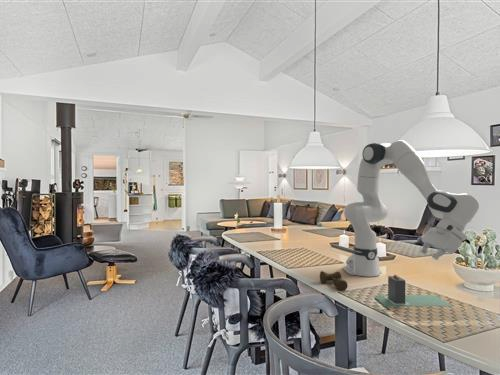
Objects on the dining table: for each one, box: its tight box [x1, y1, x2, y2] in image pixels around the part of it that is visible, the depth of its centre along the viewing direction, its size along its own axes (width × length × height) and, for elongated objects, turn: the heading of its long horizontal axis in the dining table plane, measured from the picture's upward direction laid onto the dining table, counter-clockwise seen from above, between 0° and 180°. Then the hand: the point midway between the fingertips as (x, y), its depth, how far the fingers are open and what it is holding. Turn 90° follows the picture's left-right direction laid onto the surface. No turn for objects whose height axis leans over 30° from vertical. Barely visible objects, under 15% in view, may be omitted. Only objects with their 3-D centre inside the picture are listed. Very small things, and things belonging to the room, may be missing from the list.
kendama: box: [319, 270, 348, 292], centre depth 165 cm, size 6×10×20 cm
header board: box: [373, 294, 454, 311], centre depth 139 cm, size 13×26×2 cm, turn 91°
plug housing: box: [387, 274, 406, 303], centre depth 138 cm, size 7×4×10 cm, turn 1°
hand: (428, 255), depth 142 cm, fingers open, 8 cm apart
